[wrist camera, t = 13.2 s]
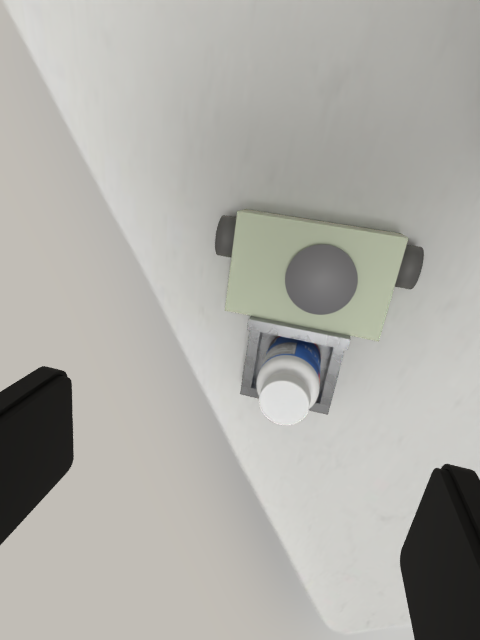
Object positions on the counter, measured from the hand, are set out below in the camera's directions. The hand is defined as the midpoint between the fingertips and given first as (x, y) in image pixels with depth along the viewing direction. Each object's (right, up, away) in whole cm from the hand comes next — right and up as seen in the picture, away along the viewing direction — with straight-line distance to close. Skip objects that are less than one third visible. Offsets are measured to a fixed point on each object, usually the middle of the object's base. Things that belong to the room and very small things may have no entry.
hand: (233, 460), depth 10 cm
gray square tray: (+6, 0, +29) cm, 30 cm away
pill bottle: (+6, 0, +29) cm, 30 cm away
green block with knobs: (+7, +8, +26) cm, 28 cm away
